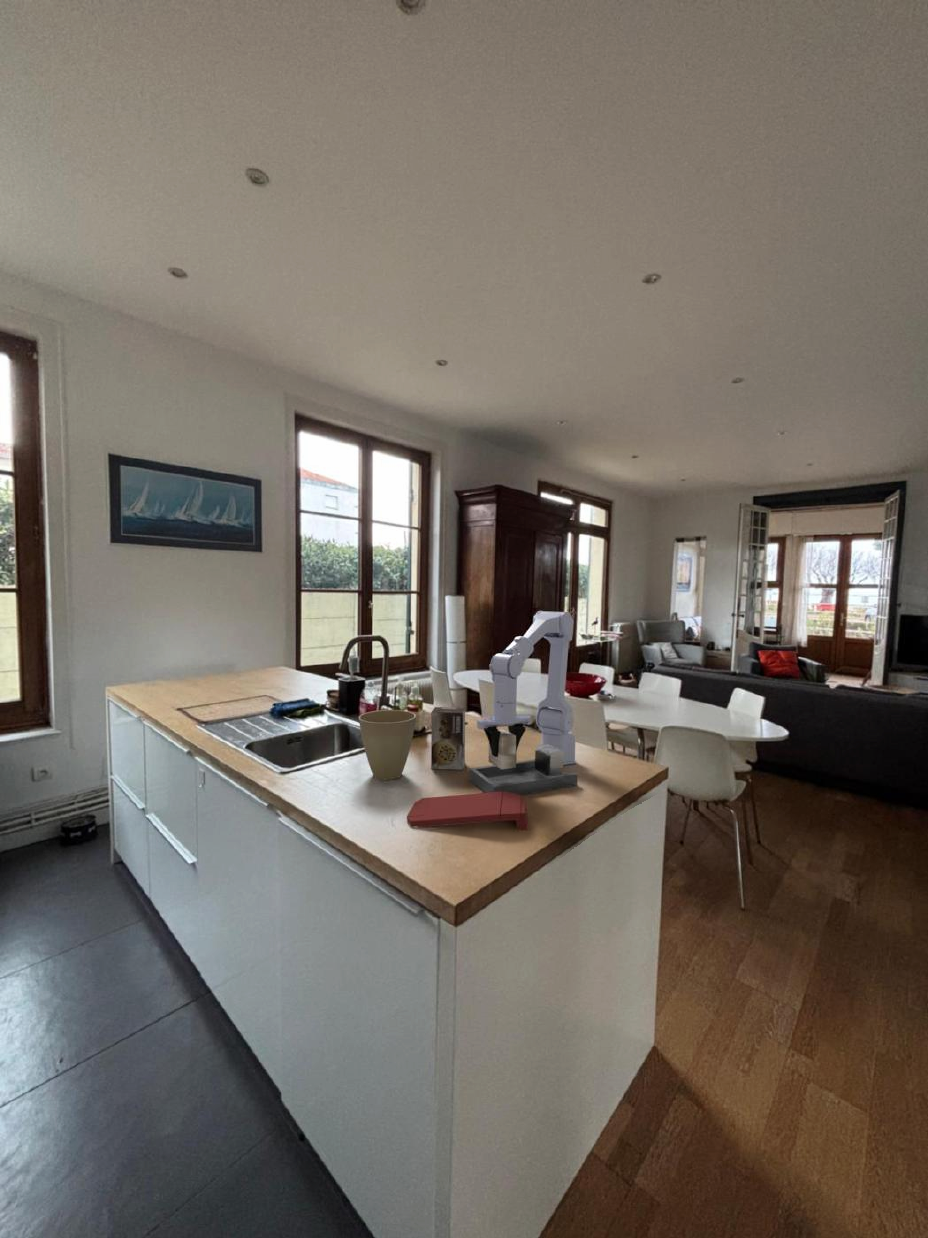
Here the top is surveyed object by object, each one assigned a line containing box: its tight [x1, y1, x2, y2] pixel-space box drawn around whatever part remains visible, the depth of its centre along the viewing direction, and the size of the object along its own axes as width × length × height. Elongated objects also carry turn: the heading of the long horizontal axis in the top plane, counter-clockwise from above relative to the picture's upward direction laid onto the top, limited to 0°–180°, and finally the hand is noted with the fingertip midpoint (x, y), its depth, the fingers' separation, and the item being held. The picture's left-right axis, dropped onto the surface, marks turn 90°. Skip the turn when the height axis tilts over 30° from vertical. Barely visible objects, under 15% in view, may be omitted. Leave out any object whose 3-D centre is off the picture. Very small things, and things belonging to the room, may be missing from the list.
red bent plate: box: [406, 791, 528, 832], centre depth 109 cm, size 12×5×25 cm
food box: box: [430, 706, 466, 771], centre depth 141 cm, size 9×6×16 cm
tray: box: [468, 744, 579, 796], centre depth 130 cm, size 24×14×8 cm, turn 114°
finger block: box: [488, 728, 518, 769], centre depth 127 cm, size 5×7×8 cm, turn 24°
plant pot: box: [358, 709, 417, 781], centre depth 133 cm, size 15×15×16 cm
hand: (503, 754), depth 127 cm, fingers closed on finger block, 5 cm apart
